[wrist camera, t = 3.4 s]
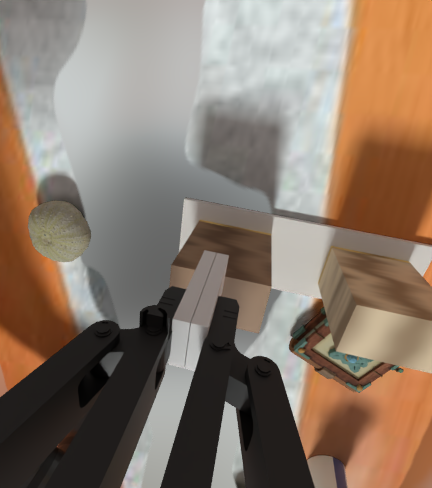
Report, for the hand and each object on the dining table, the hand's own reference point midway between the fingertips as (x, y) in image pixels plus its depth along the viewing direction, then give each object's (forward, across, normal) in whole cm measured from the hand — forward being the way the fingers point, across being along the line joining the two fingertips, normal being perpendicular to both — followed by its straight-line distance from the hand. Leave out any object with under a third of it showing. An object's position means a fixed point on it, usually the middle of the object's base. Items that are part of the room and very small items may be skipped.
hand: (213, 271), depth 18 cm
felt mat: (+22, +9, -9) cm, 26 cm away
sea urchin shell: (+23, -26, -14) cm, 37 cm away
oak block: (+22, +18, -9) cm, 29 cm away
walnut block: (+22, 0, -9) cm, 23 cm away
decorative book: (+23, +22, -21) cm, 38 cm away
